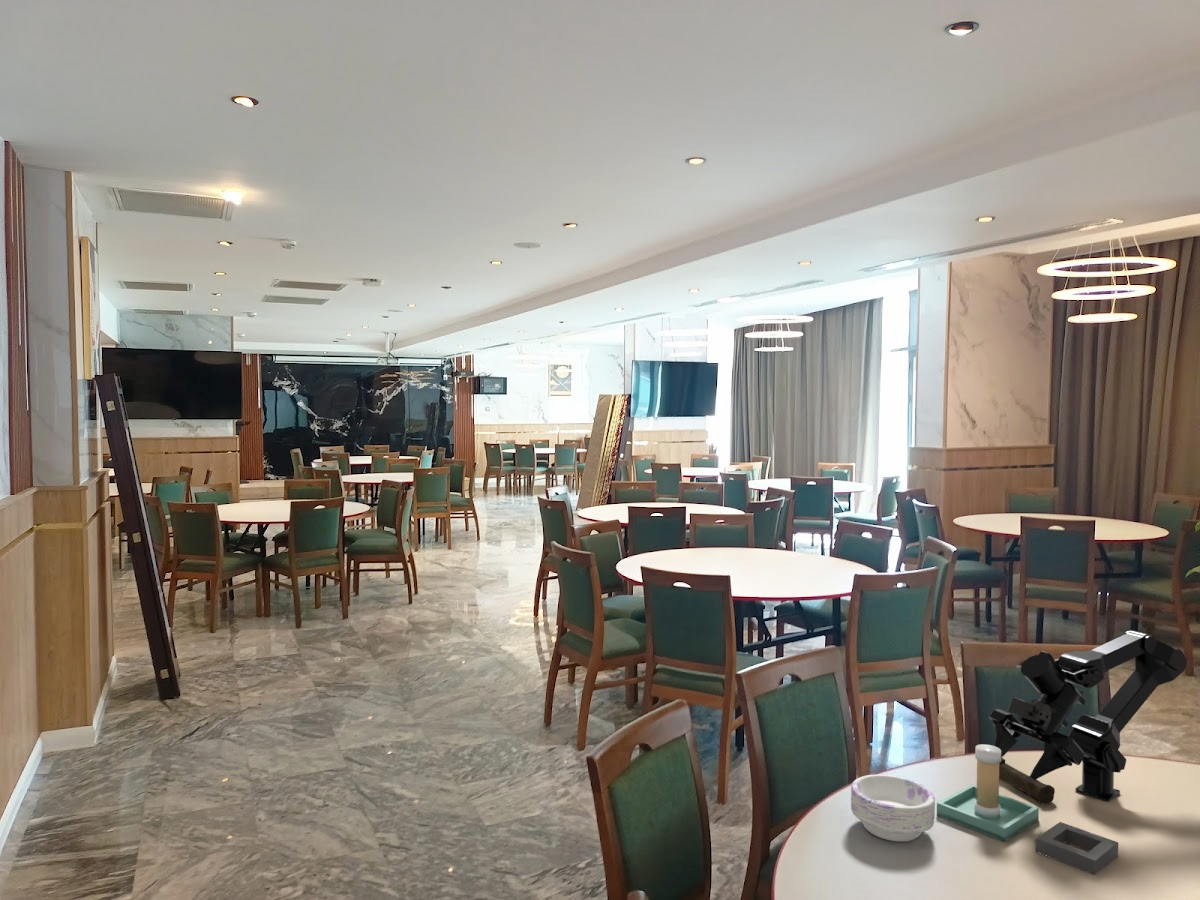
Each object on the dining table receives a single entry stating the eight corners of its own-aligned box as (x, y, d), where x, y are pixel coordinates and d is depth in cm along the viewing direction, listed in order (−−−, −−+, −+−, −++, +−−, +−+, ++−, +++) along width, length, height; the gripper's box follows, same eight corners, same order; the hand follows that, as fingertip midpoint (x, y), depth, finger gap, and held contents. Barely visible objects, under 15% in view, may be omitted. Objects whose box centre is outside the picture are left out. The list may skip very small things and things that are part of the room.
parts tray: (971, 796, 175) (971, 784, 175) (1038, 820, 164) (1038, 807, 164) (936, 815, 167) (936, 802, 167) (1004, 841, 156) (1005, 828, 156)
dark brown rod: (1056, 804, 172) (1056, 781, 172) (1039, 806, 171) (1040, 784, 171) (992, 767, 190) (992, 747, 190) (977, 769, 189) (977, 749, 189)
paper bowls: (950, 833, 159) (950, 792, 159) (904, 859, 150) (905, 815, 150) (880, 804, 172) (881, 766, 171) (834, 826, 162) (834, 786, 162)
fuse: (991, 807, 168) (992, 743, 168) (1005, 818, 164) (1006, 753, 163) (969, 808, 168) (970, 744, 167) (982, 819, 163) (983, 754, 163)
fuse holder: (1059, 834, 159) (1060, 821, 159) (1118, 856, 151) (1118, 842, 151) (1035, 851, 152) (1035, 838, 152) (1094, 874, 145) (1095, 860, 145)
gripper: (995, 670, 178) (955, 729, 174) (1073, 697, 160) (1030, 763, 157) (1023, 702, 181) (983, 761, 177) (1102, 732, 163) (1061, 797, 160)
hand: (1012, 769), depth 168 cm, fingers open, 9 cm apart
